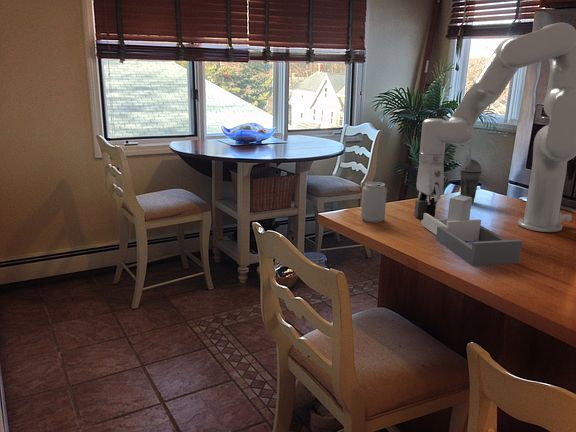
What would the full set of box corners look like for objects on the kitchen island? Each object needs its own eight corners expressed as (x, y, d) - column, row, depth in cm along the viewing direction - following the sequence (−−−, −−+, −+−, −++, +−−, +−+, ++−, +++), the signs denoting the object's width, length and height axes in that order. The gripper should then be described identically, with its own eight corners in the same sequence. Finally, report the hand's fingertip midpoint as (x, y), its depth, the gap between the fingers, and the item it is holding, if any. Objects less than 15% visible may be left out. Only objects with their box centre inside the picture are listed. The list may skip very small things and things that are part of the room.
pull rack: (436, 214, 175) (438, 197, 174) (478, 240, 151) (481, 220, 149) (408, 215, 173) (410, 198, 172) (446, 242, 149) (448, 221, 147)
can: (384, 224, 165) (386, 186, 162) (360, 222, 166) (362, 185, 163) (384, 217, 172) (387, 181, 169) (361, 215, 174) (363, 180, 170)
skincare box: (458, 241, 151) (463, 200, 147) (444, 237, 154) (449, 198, 150) (467, 236, 155) (472, 197, 152) (454, 233, 158) (458, 194, 154)
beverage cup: (480, 205, 189) (487, 149, 183) (459, 204, 189) (466, 149, 183) (473, 199, 196) (480, 146, 190) (454, 199, 196) (460, 145, 190)
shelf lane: (477, 237, 154) (480, 217, 153) (519, 263, 136) (522, 240, 134) (435, 239, 152) (438, 219, 150) (472, 265, 133) (475, 243, 131)
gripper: (455, 163, 159) (449, 221, 165) (430, 153, 175) (424, 206, 181) (433, 164, 158) (427, 222, 163) (408, 153, 174) (404, 207, 179)
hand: (425, 213), depth 172 cm, fingers closed on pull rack, 4 cm apart
